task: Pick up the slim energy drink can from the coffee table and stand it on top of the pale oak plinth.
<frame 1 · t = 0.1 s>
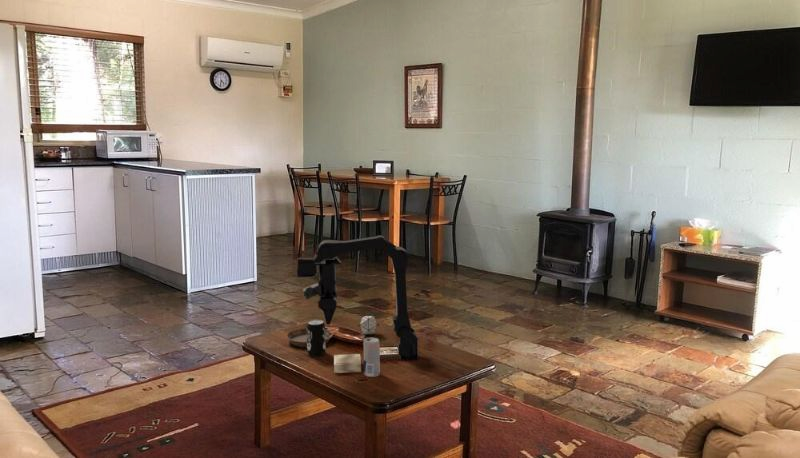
hand: (328, 320, 220), 15 cm above the table, tool pointing down, fingers open, 9 cm apart
plant saucer: (309, 342, 242), on the table
energy drink: (371, 374, 209), on the table
game die: (368, 335, 249), on the table
beverage can: (316, 354, 229), on the table
plinth: (347, 367, 215), on the table
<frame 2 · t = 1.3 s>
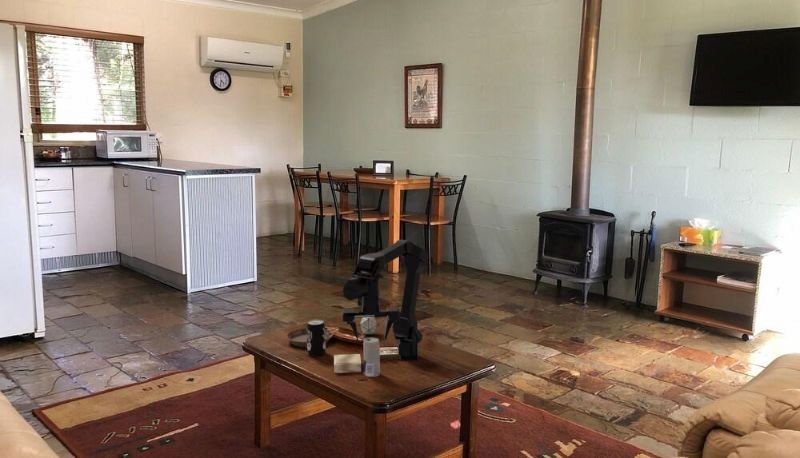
hand: (371, 339, 207), 12 cm above the table, tool pointing down, fingers open, 9 cm apart
nothing on the table moved.
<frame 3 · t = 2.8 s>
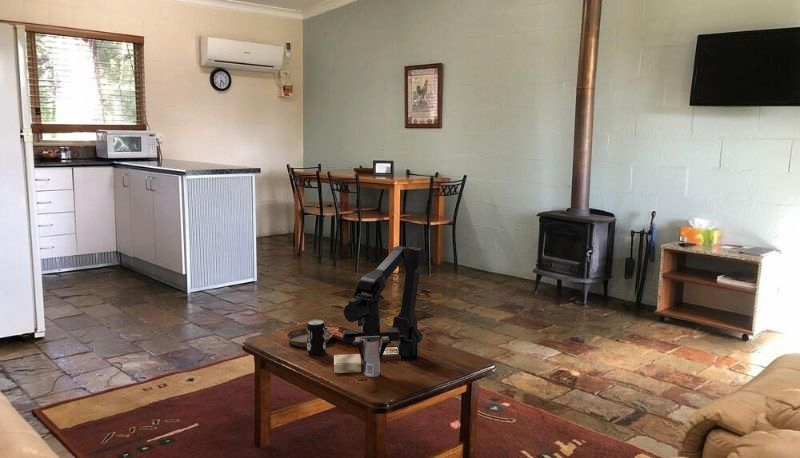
hand: (371, 359, 208), 5 cm above the table, tool pointing down, fingers closed on energy drink, 5 cm apart
energy drink: (371, 374, 209), on the table, touching gripper
everything else where it was.
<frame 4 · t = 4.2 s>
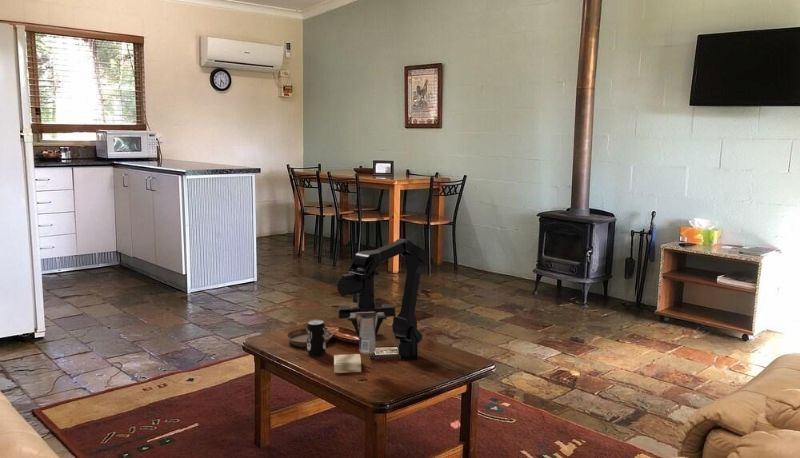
hand: (367, 336, 208), 13 cm above the table, tool pointing down, fingers closed on energy drink, 5 cm apart
energy drink: (367, 351, 209), point 7 cm above the table, touching gripper
everything else where it was.
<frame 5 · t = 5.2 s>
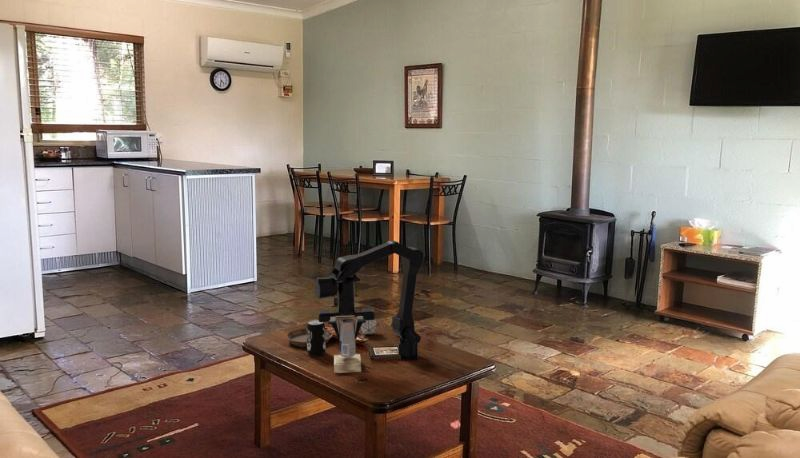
hand: (347, 339, 214), 10 cm above the table, tool pointing down, fingers closed on energy drink, 5 cm apart
energy drink: (347, 355, 214), point 4 cm above the table, touching gripper
everything else where it was.
when the fingers open (9 cm above the table, at t = 5.7 s): energy drink stays where it is, resting on plinth.
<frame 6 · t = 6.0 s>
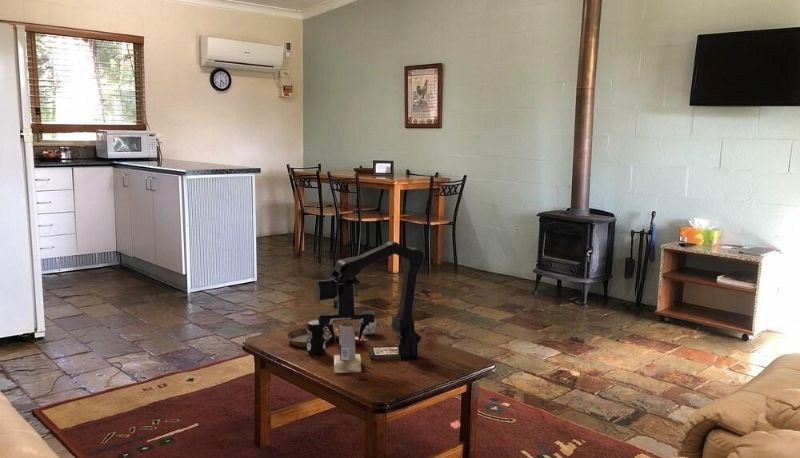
hand: (347, 341, 214), 9 cm above the table, tool pointing down, fingers open, 8 cm apart
energy drink: (347, 359, 215), point 3 cm above the table, touching plinth
everything else where it was.
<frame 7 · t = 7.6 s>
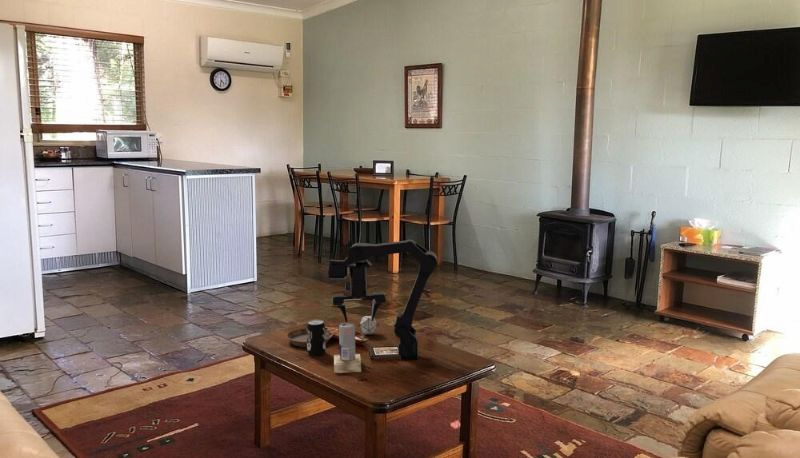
hand: (359, 321, 224), 13 cm above the table, tool pointing down, fingers open, 9 cm apart
nothing on the table moved.
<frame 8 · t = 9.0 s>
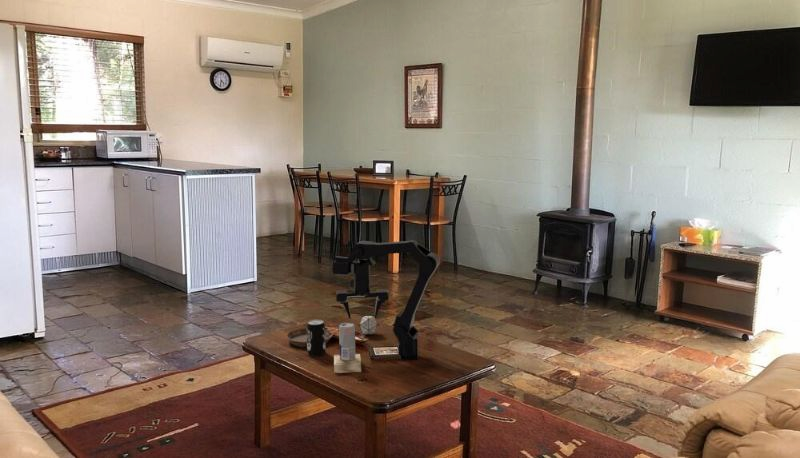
hand: (362, 318, 227), 13 cm above the table, tool pointing down, fingers open, 9 cm apart
nothing on the table moved.
at the end: energy drink 0.1 cm off-centre on the plinth, point 3.0 cm above the plinth's base; energy drink tilted 0°; the gripper is holding nothing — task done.
